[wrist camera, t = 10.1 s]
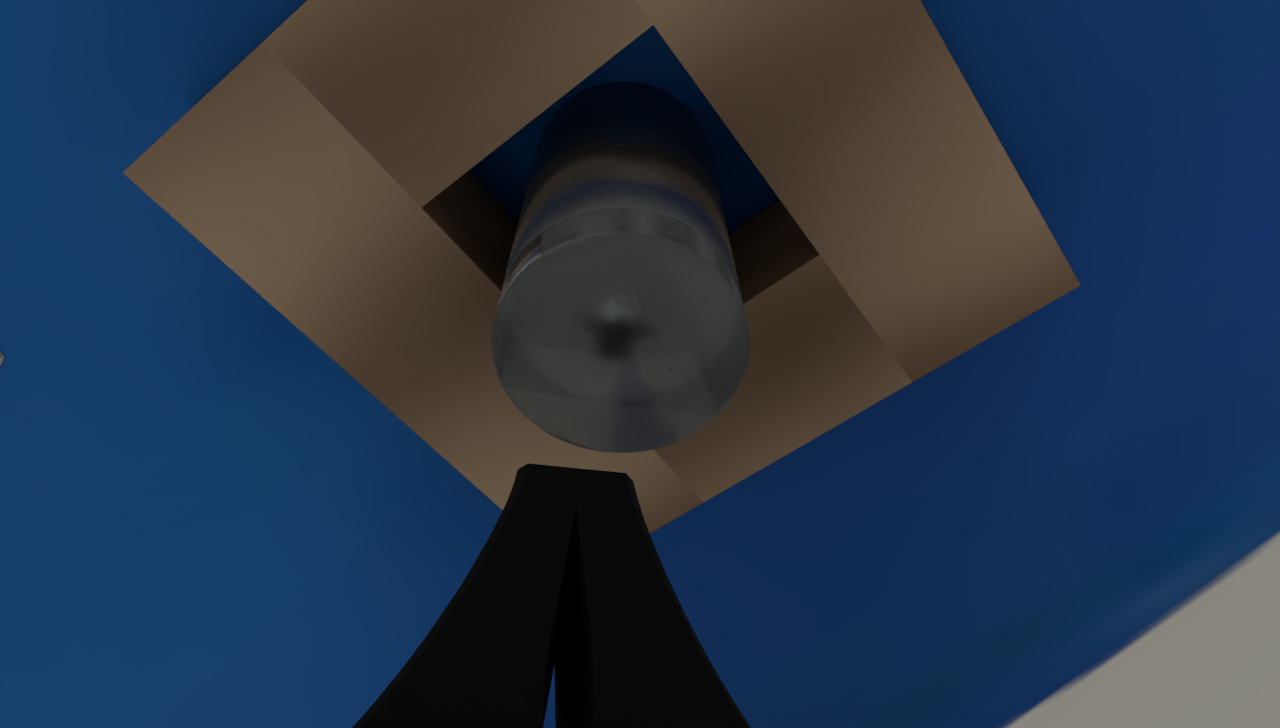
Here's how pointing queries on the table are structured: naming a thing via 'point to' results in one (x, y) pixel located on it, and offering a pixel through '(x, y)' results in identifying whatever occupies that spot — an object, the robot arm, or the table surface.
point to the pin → (621, 278)
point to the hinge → (1, 358)
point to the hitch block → (484, 233)
